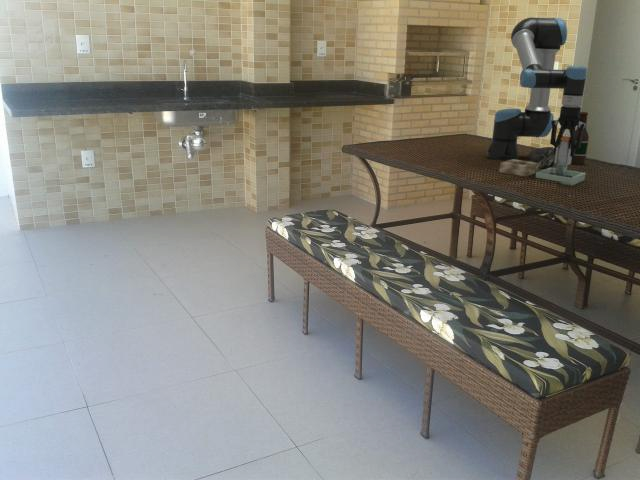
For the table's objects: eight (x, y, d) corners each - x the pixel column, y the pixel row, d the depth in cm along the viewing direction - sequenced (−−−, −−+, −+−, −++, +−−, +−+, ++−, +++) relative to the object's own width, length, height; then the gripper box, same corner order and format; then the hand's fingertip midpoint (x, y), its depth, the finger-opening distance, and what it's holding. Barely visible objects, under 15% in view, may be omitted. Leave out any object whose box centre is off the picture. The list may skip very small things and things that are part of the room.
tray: (535, 179, 254) (536, 172, 253) (549, 174, 265) (550, 167, 264) (571, 185, 245) (572, 178, 244) (584, 180, 255) (585, 173, 254)
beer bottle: (586, 165, 285) (594, 113, 277) (568, 164, 286) (576, 112, 278) (582, 162, 292) (591, 111, 284) (565, 161, 293) (573, 110, 286)
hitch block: (499, 174, 262) (500, 162, 261) (511, 170, 271) (512, 159, 269) (525, 178, 255) (527, 167, 253) (537, 174, 264) (538, 163, 262)
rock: (560, 162, 276) (555, 143, 272) (560, 172, 269) (554, 152, 265) (533, 169, 282) (527, 150, 278) (532, 179, 275) (526, 159, 271)
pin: (553, 176, 254) (558, 137, 249) (557, 174, 257) (562, 135, 252) (563, 178, 251) (569, 138, 246) (567, 176, 254) (573, 137, 249)
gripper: (546, 104, 248) (538, 161, 255) (590, 108, 237) (580, 167, 244) (553, 103, 253) (545, 159, 261) (596, 107, 242) (587, 165, 250)
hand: (562, 163), depth 252 cm, fingers closed on pin, 4 cm apart
